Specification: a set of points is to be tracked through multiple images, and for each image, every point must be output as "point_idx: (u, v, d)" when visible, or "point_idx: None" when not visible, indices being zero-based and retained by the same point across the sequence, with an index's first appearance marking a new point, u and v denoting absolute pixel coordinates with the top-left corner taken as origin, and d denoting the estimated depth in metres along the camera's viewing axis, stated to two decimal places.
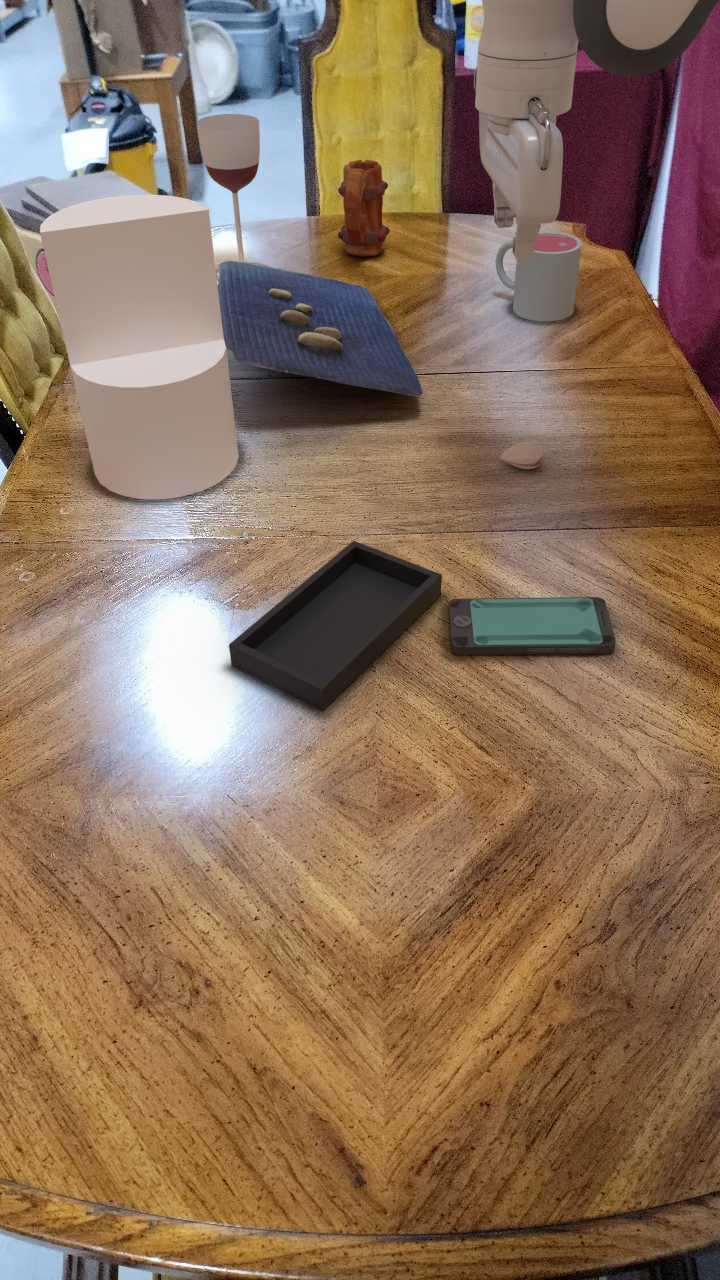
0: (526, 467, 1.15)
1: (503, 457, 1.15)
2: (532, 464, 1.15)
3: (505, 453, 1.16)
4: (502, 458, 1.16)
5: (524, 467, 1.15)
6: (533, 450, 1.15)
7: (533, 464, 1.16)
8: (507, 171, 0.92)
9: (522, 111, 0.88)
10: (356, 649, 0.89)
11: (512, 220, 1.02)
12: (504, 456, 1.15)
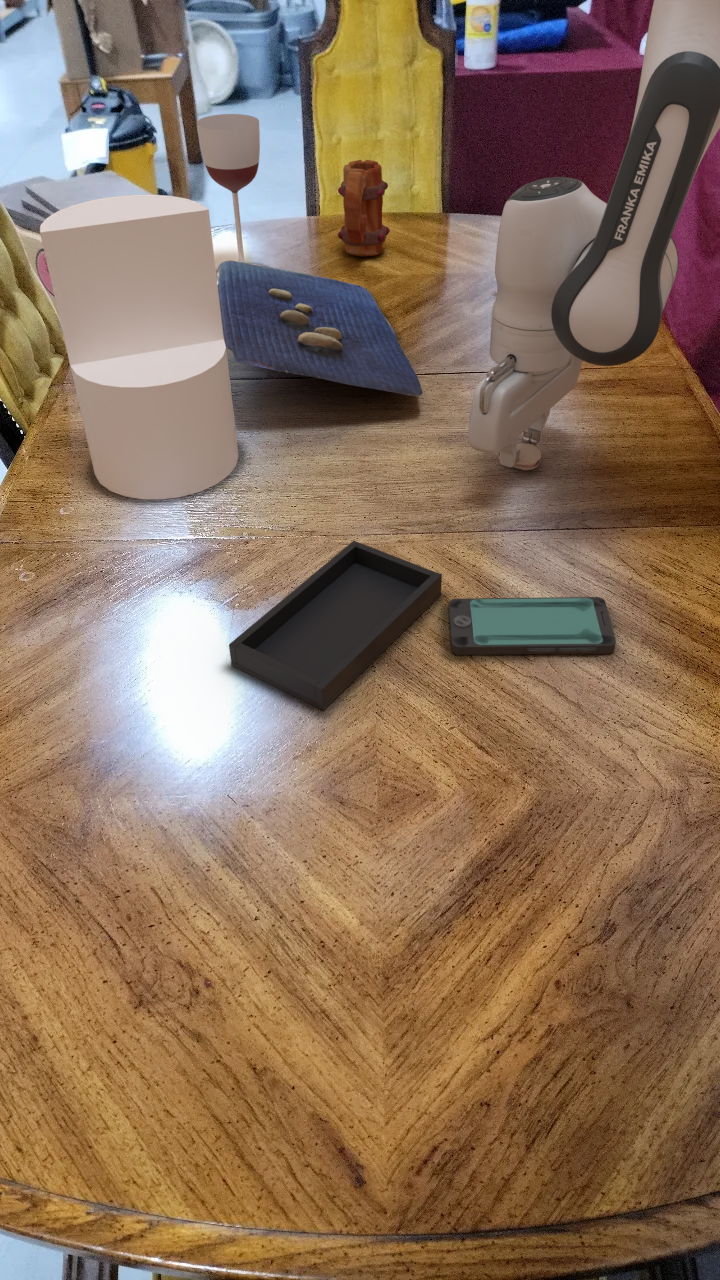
0: (525, 468, 1.15)
1: None
2: (531, 465, 1.15)
3: None
4: None
5: (523, 468, 1.15)
6: (532, 451, 1.15)
7: (532, 465, 1.15)
8: None
9: None
10: (356, 649, 0.89)
11: (535, 442, 1.16)
12: None
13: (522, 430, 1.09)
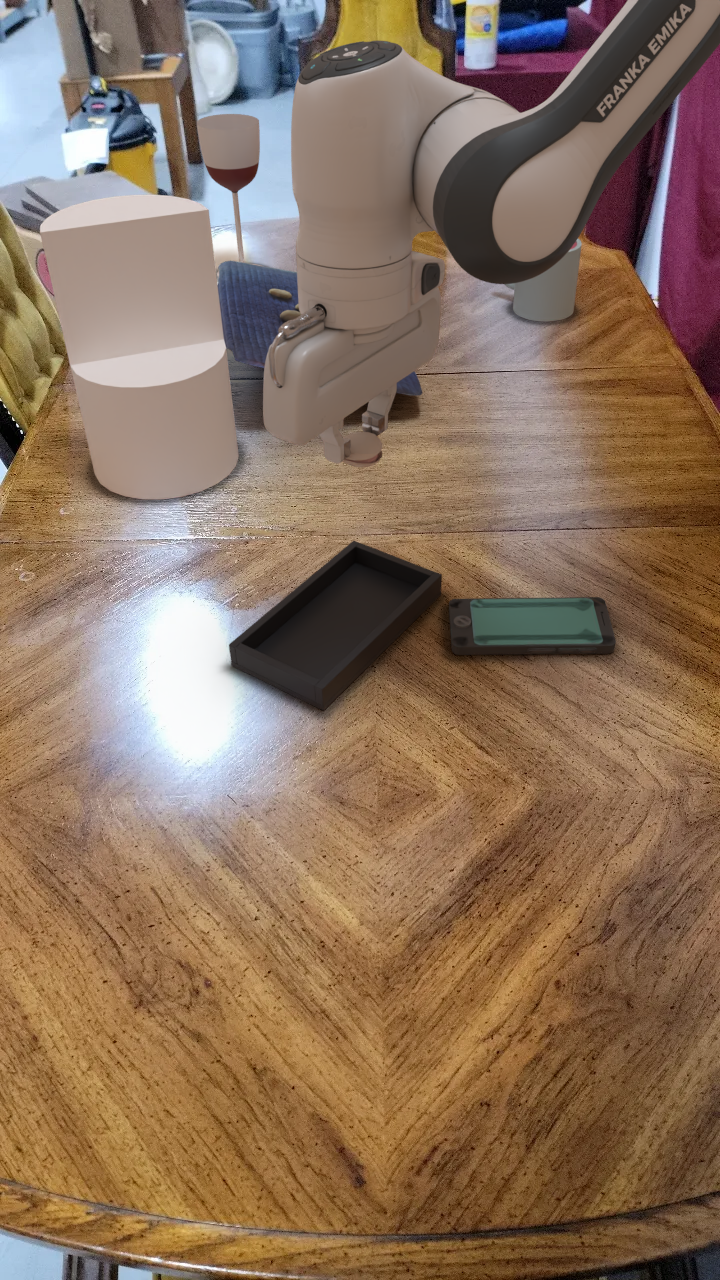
0: (359, 465, 0.85)
1: None
2: (369, 461, 0.85)
3: None
4: None
5: (357, 465, 0.85)
6: (369, 441, 0.85)
7: (370, 461, 0.85)
8: None
9: None
10: (356, 649, 0.89)
11: (377, 430, 0.86)
12: None
13: (345, 412, 0.79)
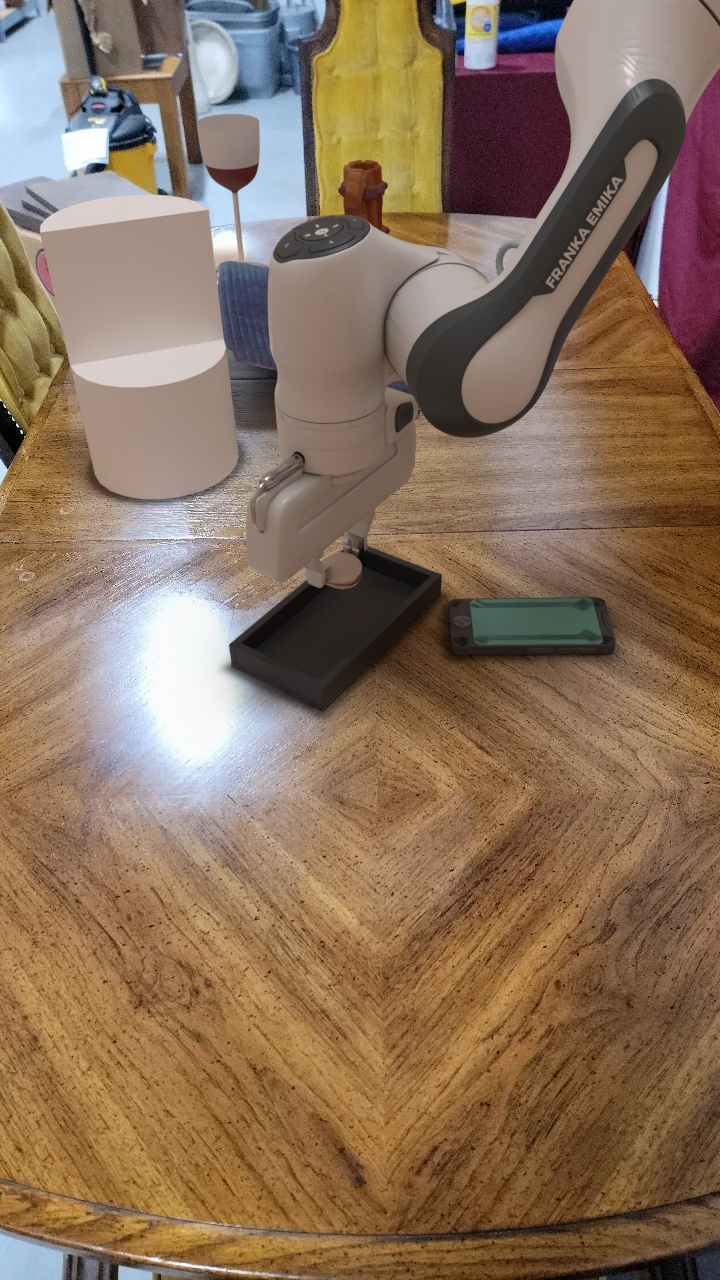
0: (340, 587, 0.89)
1: None
2: (349, 582, 0.89)
3: None
4: None
5: (337, 587, 0.89)
6: (349, 565, 0.89)
7: (350, 582, 0.89)
8: None
9: None
10: (356, 649, 0.89)
11: (357, 551, 0.90)
12: None
13: (325, 545, 0.83)
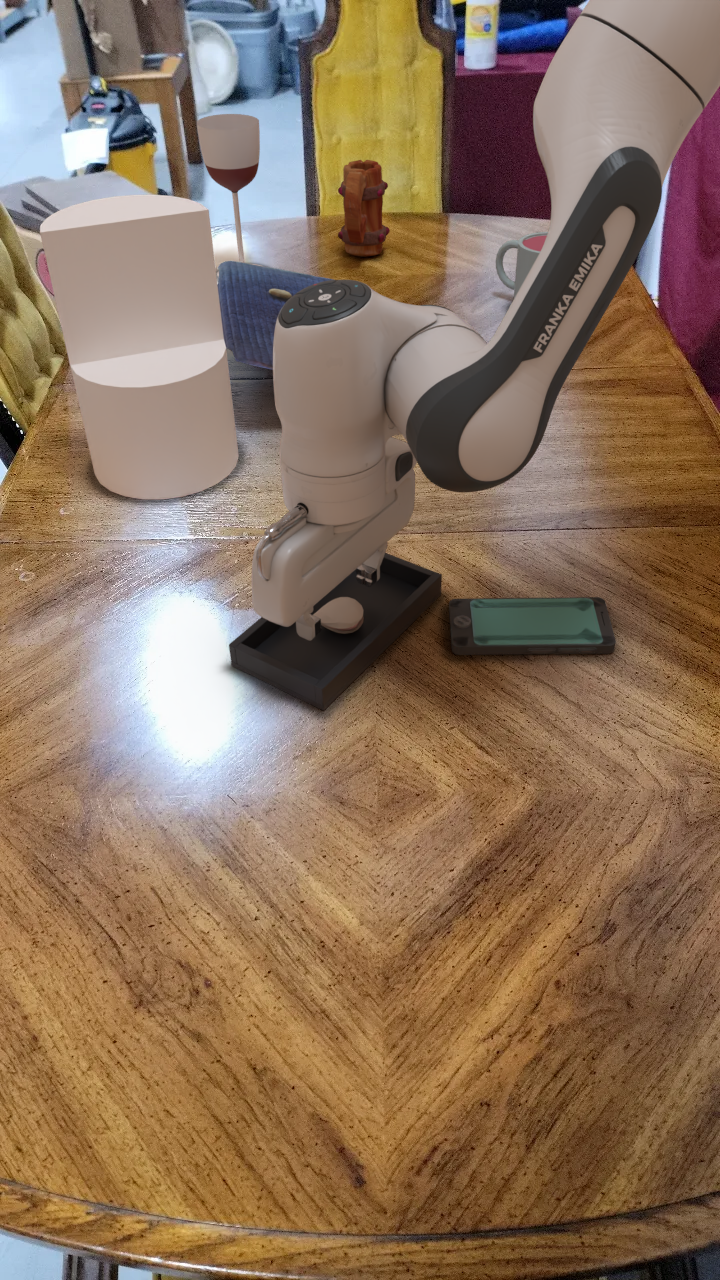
0: (342, 632, 0.92)
1: None
2: (351, 627, 0.93)
3: (318, 612, 0.93)
4: None
5: (340, 631, 0.92)
6: (351, 610, 0.92)
7: (352, 626, 0.93)
8: None
9: None
10: (356, 649, 0.89)
11: (370, 582, 0.95)
12: None
13: (328, 590, 0.86)
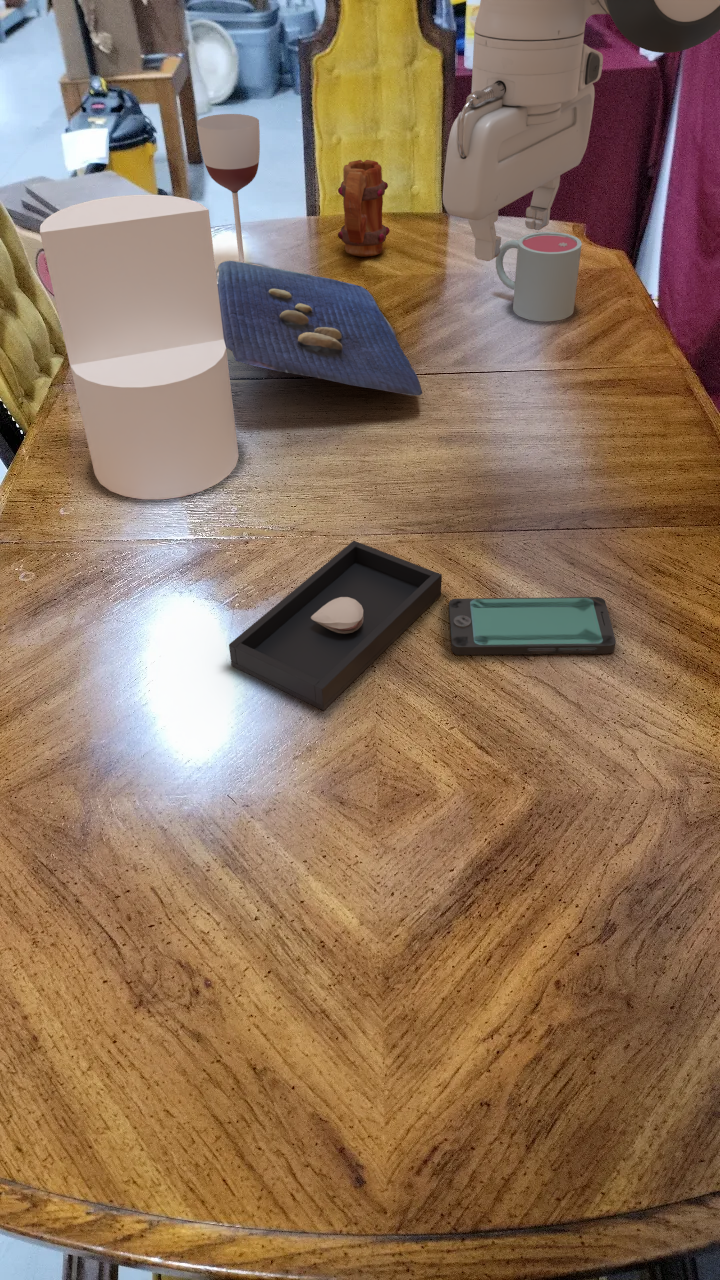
0: (342, 632, 0.92)
1: (315, 619, 0.93)
2: (351, 627, 0.93)
3: (318, 612, 0.93)
4: (313, 619, 0.93)
5: (340, 631, 0.92)
6: (351, 610, 0.92)
7: (352, 626, 0.93)
8: None
9: None
10: (356, 649, 0.89)
11: (541, 223, 0.93)
12: (316, 617, 0.93)
13: (514, 196, 0.84)
